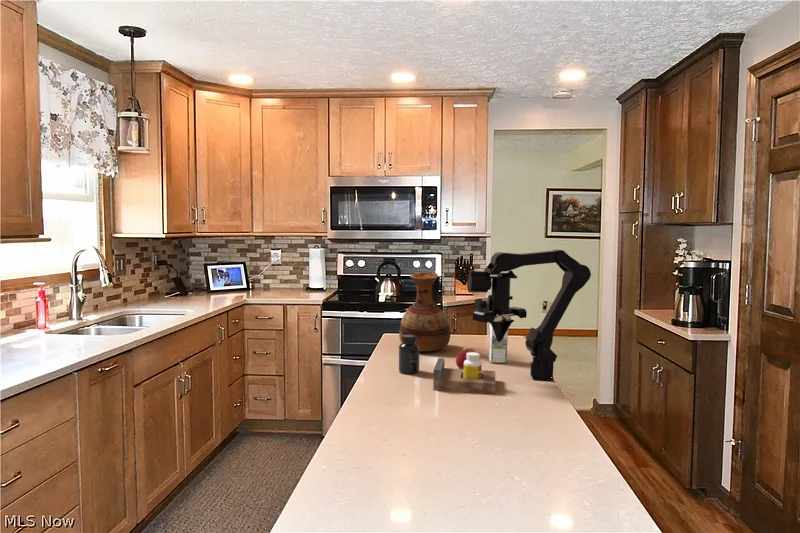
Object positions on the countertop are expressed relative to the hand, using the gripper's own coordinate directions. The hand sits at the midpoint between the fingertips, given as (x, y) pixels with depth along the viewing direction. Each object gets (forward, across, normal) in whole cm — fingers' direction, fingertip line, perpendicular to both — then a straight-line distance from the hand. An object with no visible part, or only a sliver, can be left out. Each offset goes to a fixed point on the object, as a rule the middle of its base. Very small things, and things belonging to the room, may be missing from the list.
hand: (499, 341), depth 176 cm
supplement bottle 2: (+12, +12, +1) cm, 17 cm away
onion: (+12, +4, -12) cm, 17 cm away
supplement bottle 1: (+12, +19, -22) cm, 32 cm away
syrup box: (+12, -16, -16) cm, 25 cm away
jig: (+12, +13, -1) cm, 18 cm away
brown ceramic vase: (+12, -6, -45) cm, 47 cm away
